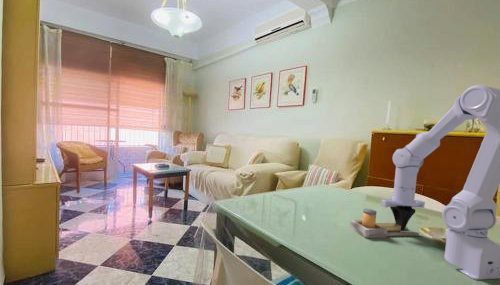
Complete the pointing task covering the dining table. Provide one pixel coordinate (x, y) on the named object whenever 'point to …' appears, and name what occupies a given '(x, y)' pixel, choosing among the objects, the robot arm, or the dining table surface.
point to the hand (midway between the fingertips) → (400, 228)
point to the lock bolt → (389, 226)
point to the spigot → (369, 218)
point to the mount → (378, 231)
